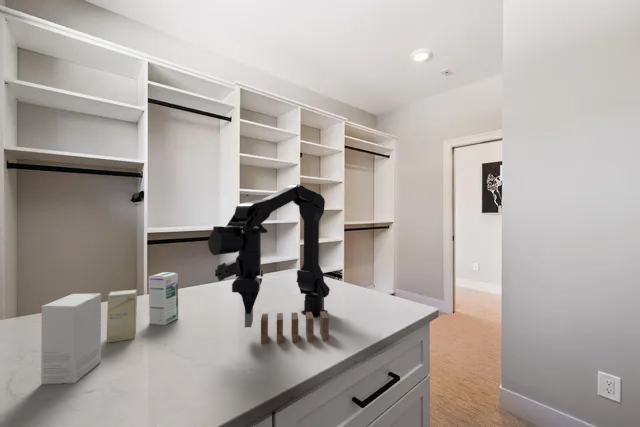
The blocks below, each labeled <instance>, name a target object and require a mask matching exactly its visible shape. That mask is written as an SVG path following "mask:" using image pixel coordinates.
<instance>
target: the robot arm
mask: <svg viewBox="0 0 640 427" xmlns="http://www.w3.org/2000/svg"><path fill="white" fill-rule="evenodd" d="M325 201H326V200H325V197H323V195H322V194H321V193H318V192H316V191H315V190H311V189H308V188H306V187H305V186H304V185H301V184H289V185H288V186H287V187H285V188H283V189H281V190H279V191H277V192H274V193H272V194H270V195H268V196H266V197H264V198H262V199H258V200H252V201H247V202H243V203H239V204H238V205H236V206H235V211H234V214H233V215H232V217H231V218H230V220H229V221H228V223H227V225H226V226H220V225H219V226H217V225H215V226H214V225H213V228H212V232H210V235H209V237H208V239H207V246H208V250H209V252H210V253H211V255H213V256H221V255H227V254H228V255H229V254H235V253H238V255H237V256H236V257H235V260H232V261H229V262H227V263H226V262H223V263H221V264H220V263H219V264H218V265H217V266H216V268H215V269H214V271H215V272H214V276H215V277H217V279H218V282H221V281H224V280H225V279H226V278H230V277H234V276H235V279H234V280H233V282H232V283H231V292H232V293H238V294H240V296H241V300H242V302H243V308H244V312H245V311H246V314H250V313H251V311H252V308H253V309H254V305H255V303H256V300H257V297H258V296H259V292H260V289H261V284H262V282H263V277H264V268H263V266H262V264H261V262H262V252H261V250H262V240H261V239H262V234H267V233H268V230H267V228H265V227H264V225H263V223H264V222H265V221H266V220H268V218H269V217H270V215H271V214H272V213H273V212H274V211H276V210H278V209H280V208H282V207H284V206H286V205H288V204H290V203H293V204H295V205H296V206H298V210H299V215H300V216H301V218H302V220H303V264H302V266H301V268H300V269H298V270H296V275H297V277H296V283H297V286H298V288H299V290H300V291H299V292H300V294H303V295H304V301H303V302H304V305H303V307H304V310H301V314H304V315H306V312H312V315H313V318H317V317H320V312H321V311H326V313H327V314H328V310H326V309H325V298H327V296H329V294H330V291H331V290H330V289H331V288H330V287H329V286H328V285H327V283H326V282H325V281H324V279H325V278H324V272H323V270H322V268H321V266H320V264H319V261H320V260H319V258H320V256H319V250H320V249H319V248H320V233H319V232H320V220H321V218H322V216H323V215H324V213H325V204H326V202H325ZM260 277H261V278H260Z"/></svg>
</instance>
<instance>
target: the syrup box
mask: <svg viewBox="0 0 640 427" xmlns="http://www.w3.org/2000/svg"><path fill="white" fill-rule="evenodd" d="M178 278H179V274H178V273H177V272H172V271H171V272H170V271H168V272H167V271H166V272H165V271H164V272H163V271H162V272H161V273H160V272H159V273H157V274H154V275H149V276H148V309H149V310H148V321H149V324H150V325H151V324H152V325H158V326H159V325H160V326H166V325H168V324H169V323H171V322H174V321H175V320H177V319H179V281H178V280H179V279H178Z"/></svg>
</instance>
